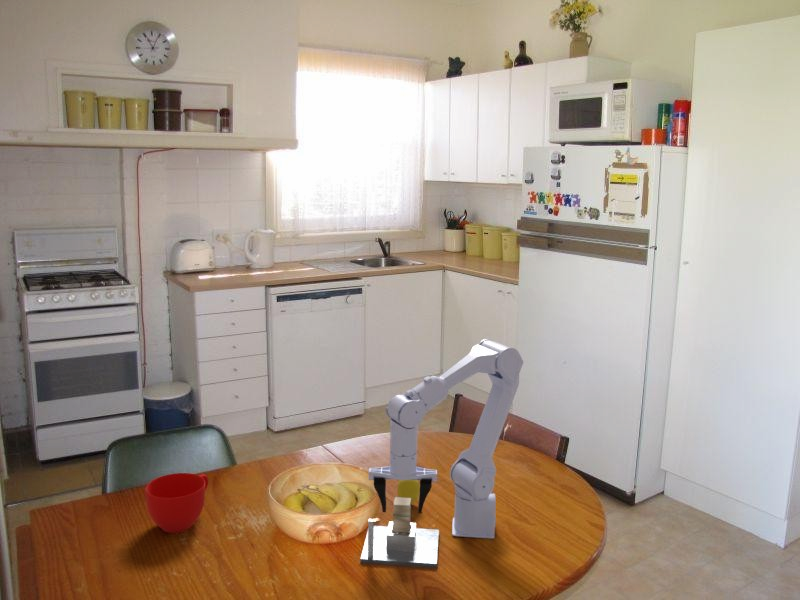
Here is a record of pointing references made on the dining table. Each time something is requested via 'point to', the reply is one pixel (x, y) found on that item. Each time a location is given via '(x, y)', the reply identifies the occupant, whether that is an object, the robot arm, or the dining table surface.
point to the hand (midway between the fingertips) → (402, 510)
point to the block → (401, 514)
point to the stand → (400, 546)
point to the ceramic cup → (176, 500)
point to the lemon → (408, 489)
